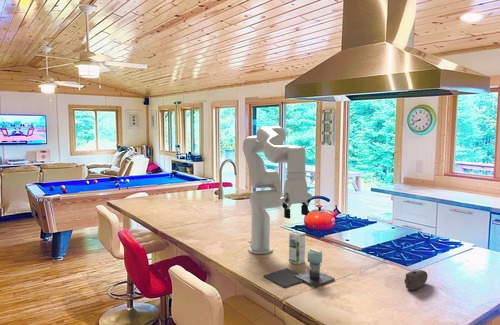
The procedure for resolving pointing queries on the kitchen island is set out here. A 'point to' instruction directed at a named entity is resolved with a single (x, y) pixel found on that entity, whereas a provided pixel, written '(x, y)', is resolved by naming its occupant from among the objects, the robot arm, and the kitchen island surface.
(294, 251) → the syrup box
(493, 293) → the kitchen island surface
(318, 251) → the cap
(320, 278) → the dark grey square-based fixture
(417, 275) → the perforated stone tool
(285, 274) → the pad
